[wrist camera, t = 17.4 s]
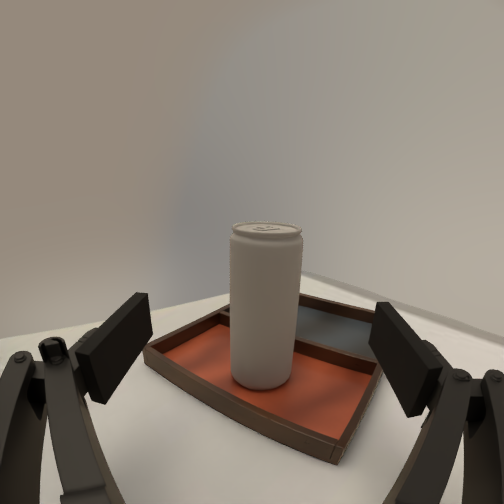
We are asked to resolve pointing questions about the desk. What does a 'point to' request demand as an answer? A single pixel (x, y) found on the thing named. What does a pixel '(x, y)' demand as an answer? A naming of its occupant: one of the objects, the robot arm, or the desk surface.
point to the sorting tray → (296, 386)
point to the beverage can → (264, 301)
